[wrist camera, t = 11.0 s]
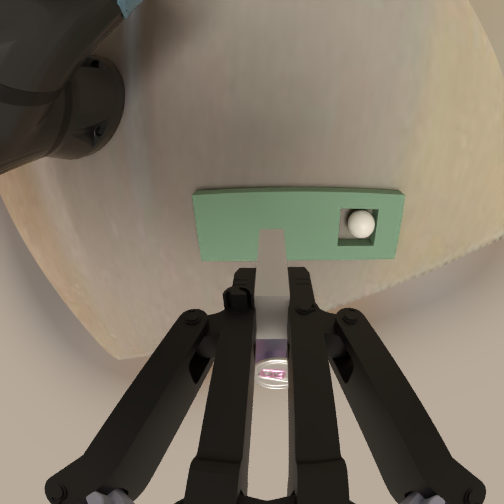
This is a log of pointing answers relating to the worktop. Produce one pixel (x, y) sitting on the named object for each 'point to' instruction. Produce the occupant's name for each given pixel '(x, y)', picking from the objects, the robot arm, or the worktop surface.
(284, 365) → the beverage can
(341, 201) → the green rectangular board
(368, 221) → the white ball
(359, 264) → the worktop surface
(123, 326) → the worktop surface
